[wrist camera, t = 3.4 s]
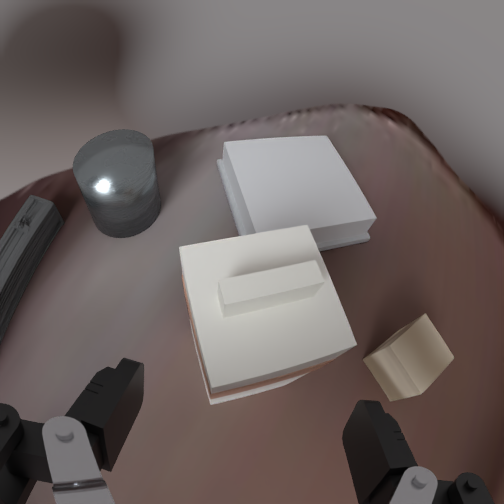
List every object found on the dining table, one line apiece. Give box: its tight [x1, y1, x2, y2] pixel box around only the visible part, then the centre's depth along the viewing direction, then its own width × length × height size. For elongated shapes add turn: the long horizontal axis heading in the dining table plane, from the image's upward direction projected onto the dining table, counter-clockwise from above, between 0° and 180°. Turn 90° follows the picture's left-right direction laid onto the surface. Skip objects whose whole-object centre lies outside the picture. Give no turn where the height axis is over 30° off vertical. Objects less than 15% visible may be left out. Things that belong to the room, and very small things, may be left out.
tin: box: [73, 129, 161, 238], centre depth 22 cm, size 6×6×6 cm
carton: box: [179, 225, 357, 405], centre depth 15 cm, size 5×5×12 cm
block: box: [363, 313, 454, 402], centre depth 19 cm, size 4×4×4 cm
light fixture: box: [0, 195, 64, 344], centre depth 17 cm, size 3×15×6 cm, turn 164°
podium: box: [217, 136, 376, 251], centre depth 26 cm, size 11×11×3 cm
